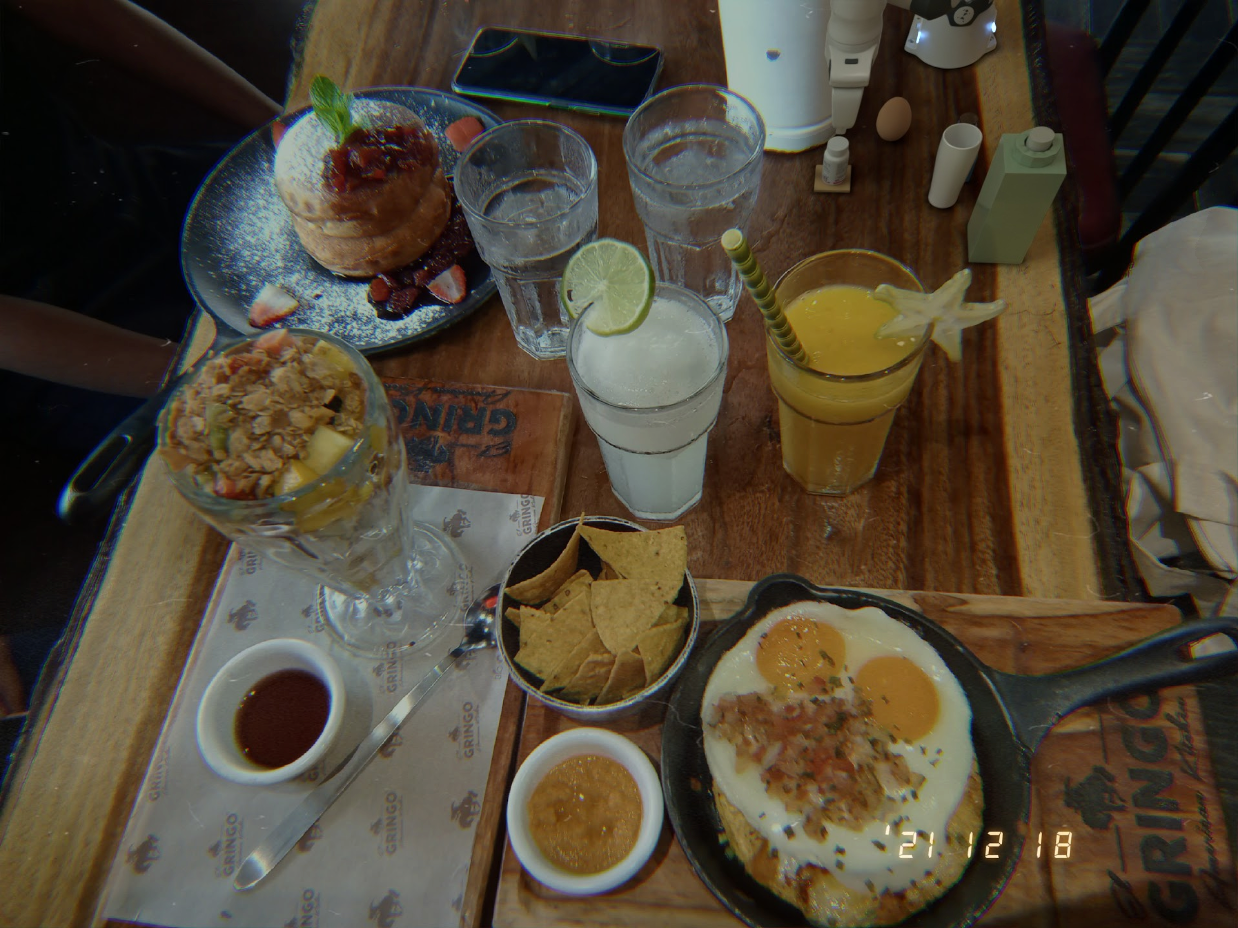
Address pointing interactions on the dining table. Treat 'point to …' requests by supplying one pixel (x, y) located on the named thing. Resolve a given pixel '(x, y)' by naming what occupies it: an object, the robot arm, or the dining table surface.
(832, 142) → the pill bottle
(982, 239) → the dispenser
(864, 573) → the dining table surface
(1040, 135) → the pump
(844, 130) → the robot arm
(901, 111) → the egg
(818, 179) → the mat
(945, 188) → the drinking glass
